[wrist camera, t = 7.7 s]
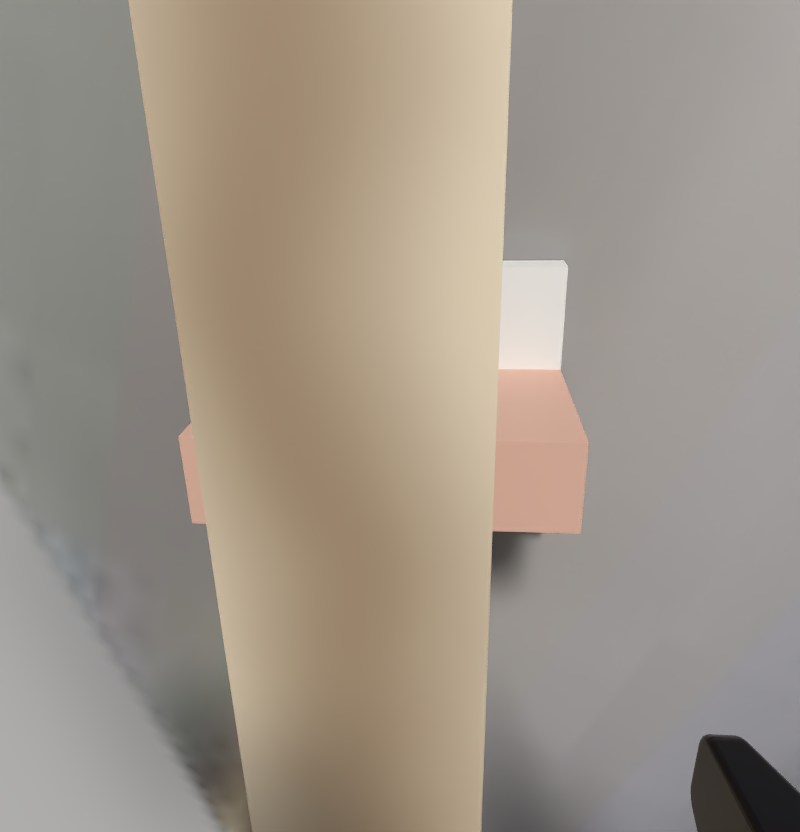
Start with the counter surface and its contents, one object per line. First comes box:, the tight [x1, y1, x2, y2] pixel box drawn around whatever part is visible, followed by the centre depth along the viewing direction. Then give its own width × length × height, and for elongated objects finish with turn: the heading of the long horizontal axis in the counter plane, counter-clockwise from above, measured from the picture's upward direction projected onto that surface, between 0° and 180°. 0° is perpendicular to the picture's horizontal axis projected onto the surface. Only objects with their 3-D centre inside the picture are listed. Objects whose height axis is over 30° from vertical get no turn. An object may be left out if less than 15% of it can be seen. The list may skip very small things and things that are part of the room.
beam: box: [128, 0, 512, 832], centre depth 12 cm, size 4×16×4 cm, turn 1°
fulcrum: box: [179, 260, 589, 534], centre depth 16 cm, size 8×7×5 cm
